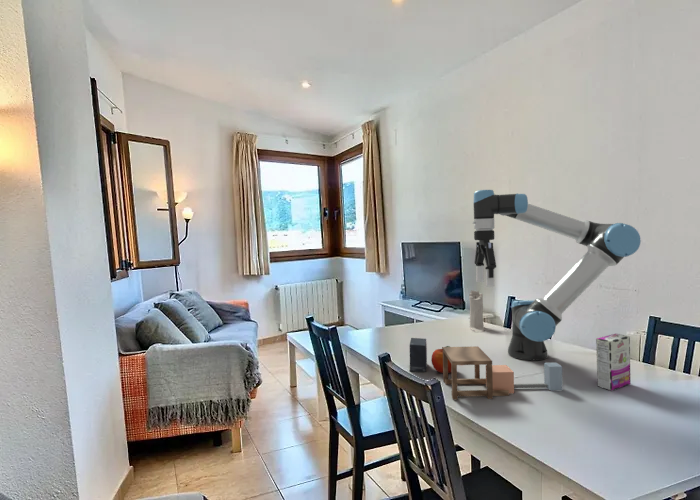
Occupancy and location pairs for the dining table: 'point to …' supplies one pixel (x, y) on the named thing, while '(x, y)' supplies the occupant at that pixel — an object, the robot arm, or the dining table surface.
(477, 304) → the beige paper bag
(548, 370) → the block barbell
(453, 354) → the shelf
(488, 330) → the dining table surface
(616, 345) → the candy bar box
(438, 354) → the fruit
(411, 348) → the small box
